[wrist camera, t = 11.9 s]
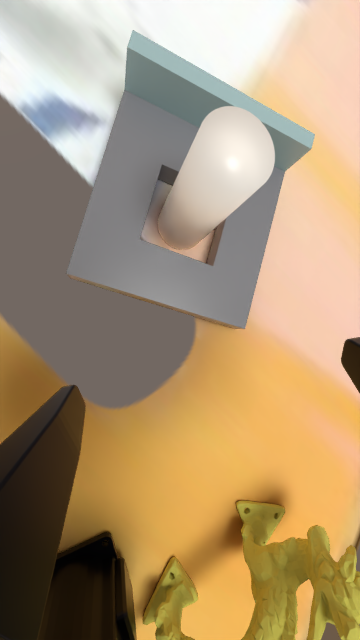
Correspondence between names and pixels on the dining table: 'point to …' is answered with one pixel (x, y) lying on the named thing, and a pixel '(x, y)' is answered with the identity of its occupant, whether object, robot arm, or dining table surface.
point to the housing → (165, 163)
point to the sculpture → (273, 583)
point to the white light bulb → (216, 175)
